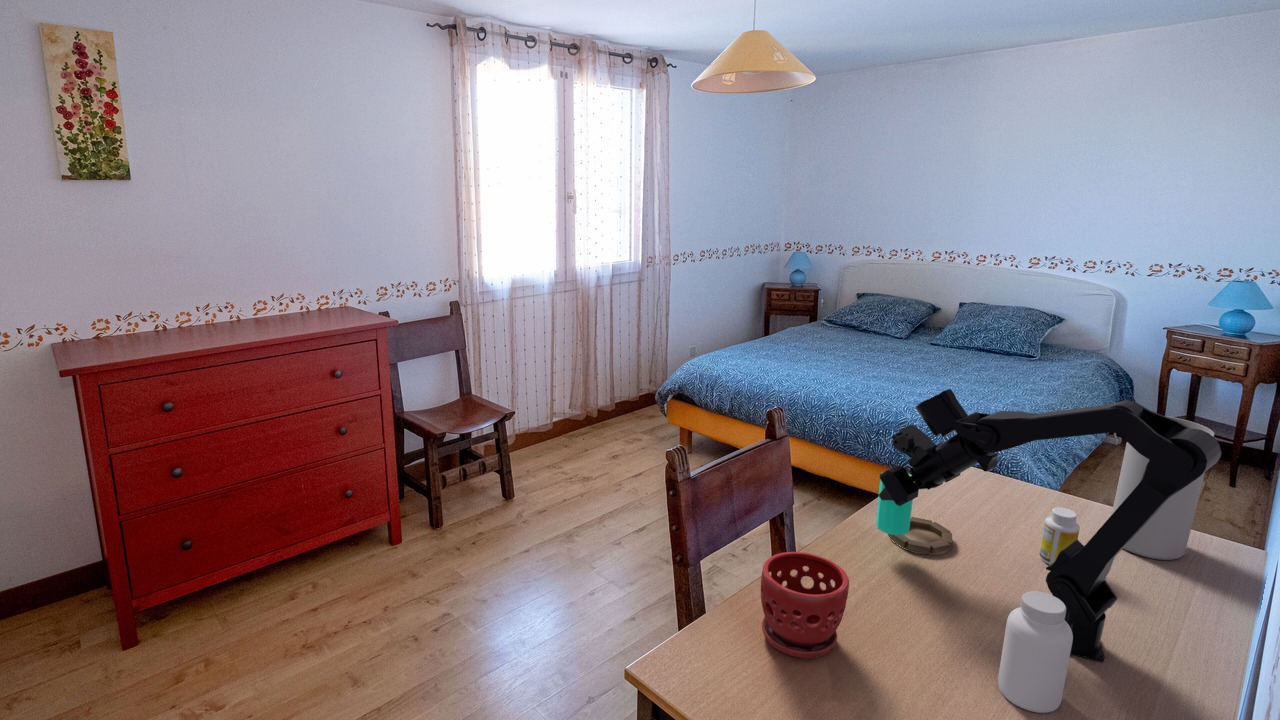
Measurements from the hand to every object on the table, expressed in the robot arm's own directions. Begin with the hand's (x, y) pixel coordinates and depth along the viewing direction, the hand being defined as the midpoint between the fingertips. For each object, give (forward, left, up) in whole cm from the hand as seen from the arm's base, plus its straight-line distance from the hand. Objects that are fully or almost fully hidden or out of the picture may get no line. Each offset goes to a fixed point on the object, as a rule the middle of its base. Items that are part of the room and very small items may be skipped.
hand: (889, 493), depth 131 cm
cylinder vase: (+24, -47, -12) cm, 54 cm away
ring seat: (+8, -6, -12) cm, 16 cm away
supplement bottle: (+10, -30, -12) cm, 34 cm away
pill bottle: (-31, -22, -12) cm, 41 cm away
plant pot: (-32, +10, -13) cm, 36 cm away
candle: (-1, -1, -7) cm, 7 cm away
